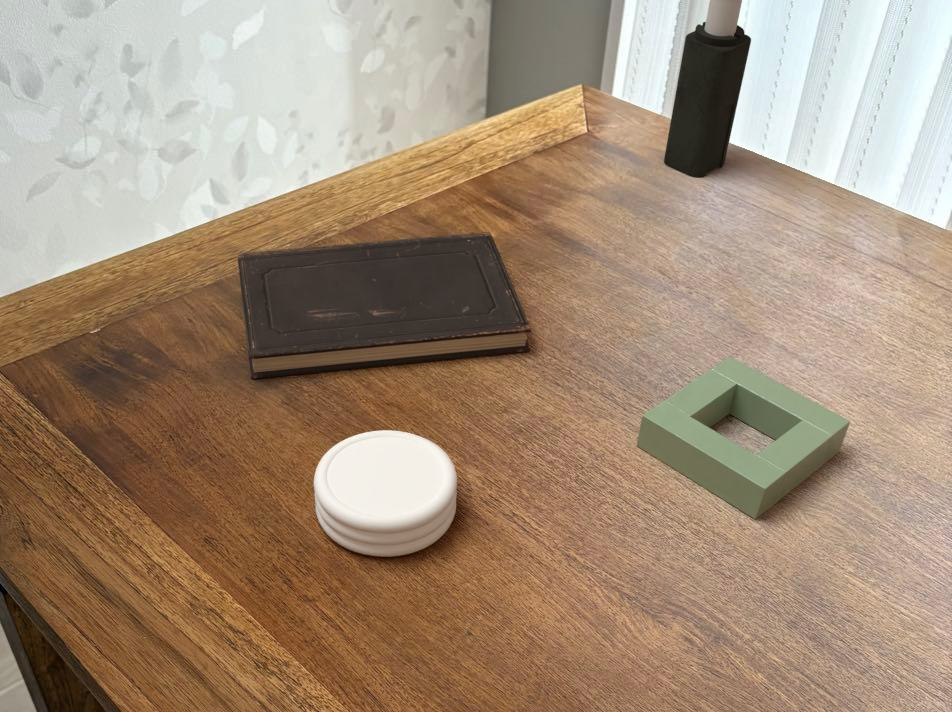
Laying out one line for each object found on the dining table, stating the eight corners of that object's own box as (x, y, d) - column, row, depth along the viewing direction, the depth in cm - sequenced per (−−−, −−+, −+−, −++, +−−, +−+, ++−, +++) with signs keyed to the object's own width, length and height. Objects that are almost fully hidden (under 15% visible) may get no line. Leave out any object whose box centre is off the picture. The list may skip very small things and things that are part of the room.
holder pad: (722, 386, 89) (729, 355, 87) (839, 451, 84) (851, 420, 81) (636, 445, 84) (642, 414, 82) (755, 519, 79) (765, 488, 76)
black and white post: (689, 146, 118) (740, -118, 100) (728, 163, 115) (788, -105, 97) (659, 161, 115) (705, -107, 97) (698, 179, 113) (753, -93, 95)
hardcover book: (528, 351, 92) (531, 328, 91) (251, 379, 90) (248, 356, 88) (487, 250, 103) (489, 228, 102) (239, 272, 101) (236, 249, 99)
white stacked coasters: (443, 569, 75) (445, 533, 73) (300, 550, 76) (296, 513, 74) (465, 471, 82) (467, 435, 79) (334, 455, 83) (331, 418, 81)
